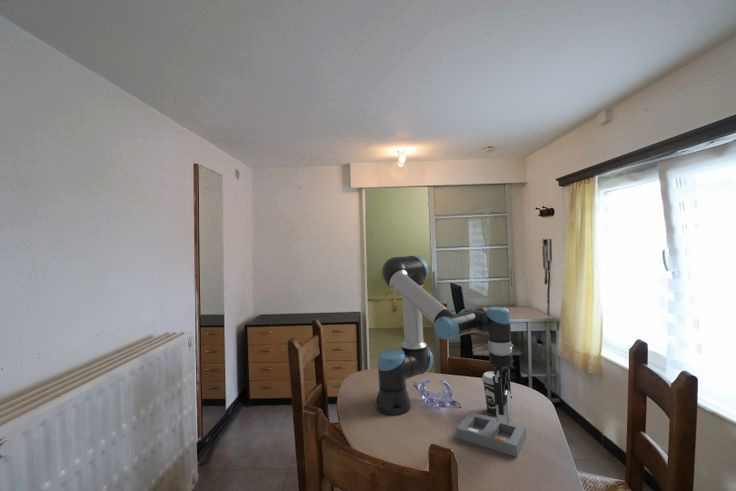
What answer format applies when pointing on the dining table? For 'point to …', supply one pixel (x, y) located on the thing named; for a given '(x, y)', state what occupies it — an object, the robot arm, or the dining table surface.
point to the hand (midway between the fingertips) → (504, 420)
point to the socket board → (492, 433)
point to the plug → (508, 407)
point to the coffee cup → (489, 392)
